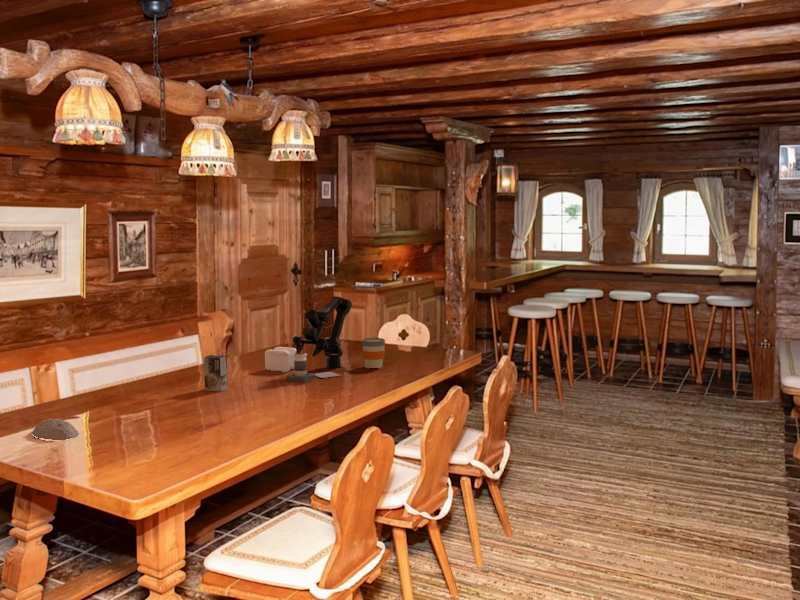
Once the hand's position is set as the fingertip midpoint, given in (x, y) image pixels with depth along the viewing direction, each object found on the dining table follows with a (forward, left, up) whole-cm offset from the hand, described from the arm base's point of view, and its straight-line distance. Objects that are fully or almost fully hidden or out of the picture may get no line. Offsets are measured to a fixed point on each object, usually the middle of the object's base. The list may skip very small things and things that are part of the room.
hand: (304, 355), depth 393 cm
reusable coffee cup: (-43, -5, -12) cm, 45 cm away
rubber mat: (-11, +1, -11) cm, 16 cm away
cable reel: (+4, +2, -11) cm, 12 cm away
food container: (+123, +40, -12) cm, 130 cm away
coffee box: (+47, +1, -12) cm, 48 cm away
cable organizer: (+2, -25, -12) cm, 28 cm away
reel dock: (+4, +2, -11) cm, 12 cm away
